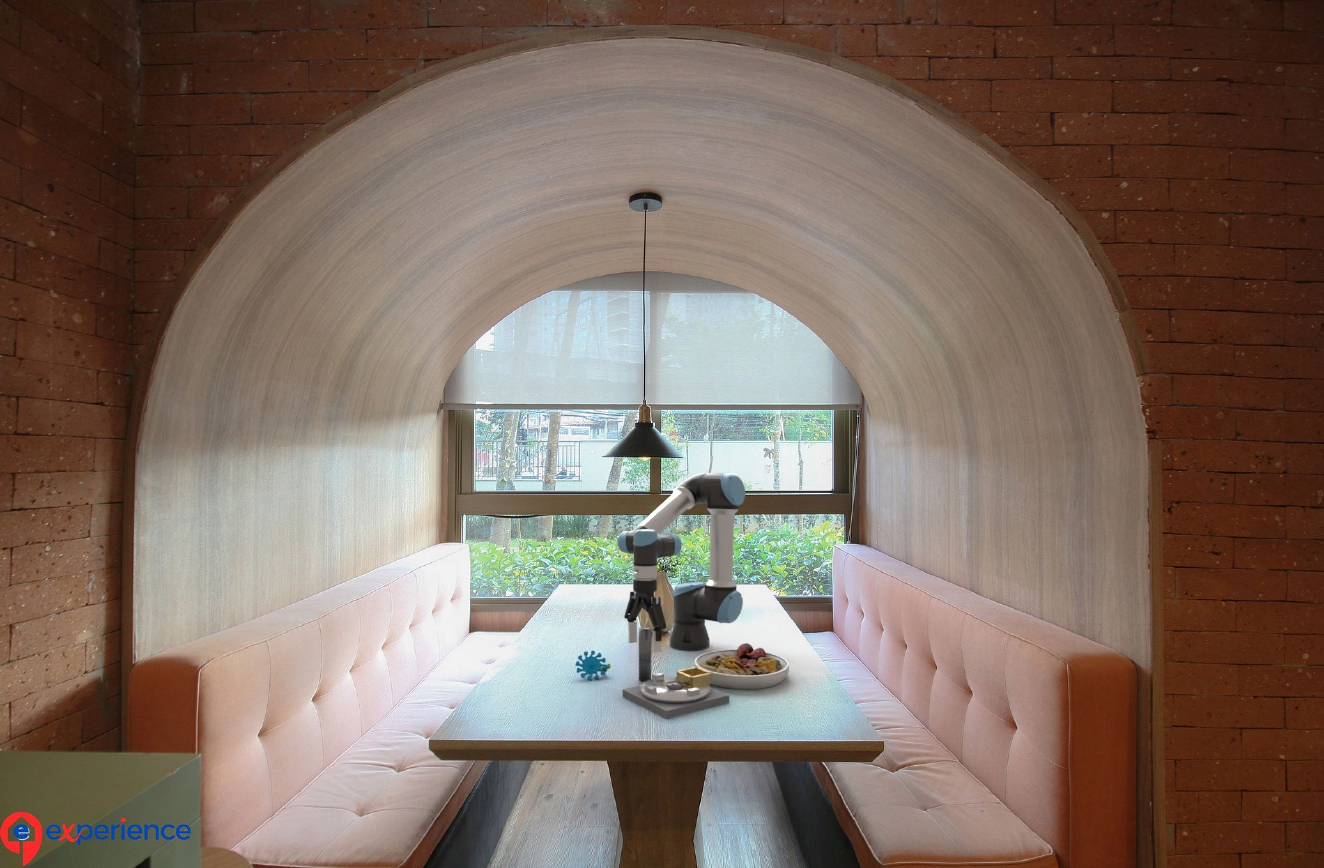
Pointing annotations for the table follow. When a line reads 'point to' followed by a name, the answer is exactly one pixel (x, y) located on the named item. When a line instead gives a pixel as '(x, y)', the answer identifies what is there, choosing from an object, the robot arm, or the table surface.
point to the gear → (592, 665)
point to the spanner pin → (644, 654)
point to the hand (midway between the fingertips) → (644, 647)
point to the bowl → (744, 667)
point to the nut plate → (675, 708)
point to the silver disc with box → (678, 686)
